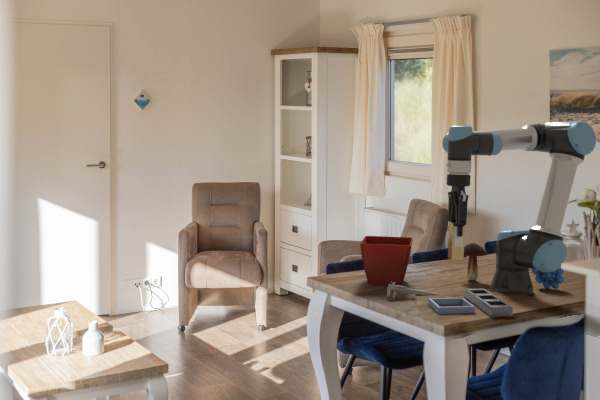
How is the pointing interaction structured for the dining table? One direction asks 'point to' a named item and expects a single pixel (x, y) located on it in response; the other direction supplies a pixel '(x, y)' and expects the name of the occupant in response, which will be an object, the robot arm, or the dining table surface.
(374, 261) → the plant pot
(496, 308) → the socket rail
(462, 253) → the brass peg
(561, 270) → the grapes
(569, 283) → the dining table surface
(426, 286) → the dining table surface
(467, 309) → the tray
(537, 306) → the dining table surface
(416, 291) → the caliper
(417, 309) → the dining table surface
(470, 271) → the decorative mushroom
